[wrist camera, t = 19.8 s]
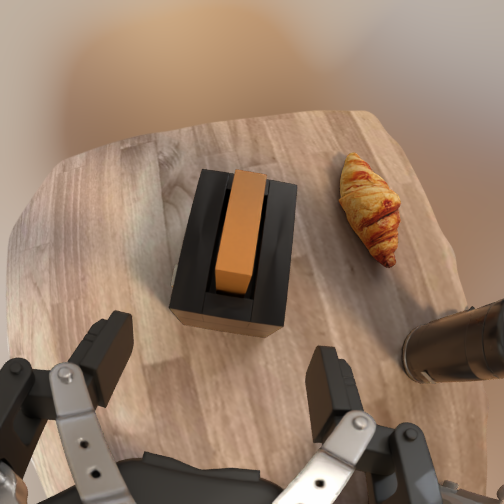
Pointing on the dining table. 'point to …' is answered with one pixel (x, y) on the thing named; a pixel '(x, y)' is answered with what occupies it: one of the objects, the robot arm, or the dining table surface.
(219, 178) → the slot toaster
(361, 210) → the croissant
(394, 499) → the robot arm
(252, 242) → the orange slab
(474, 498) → the toaster
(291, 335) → the dining table surface
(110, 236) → the dining table surface
